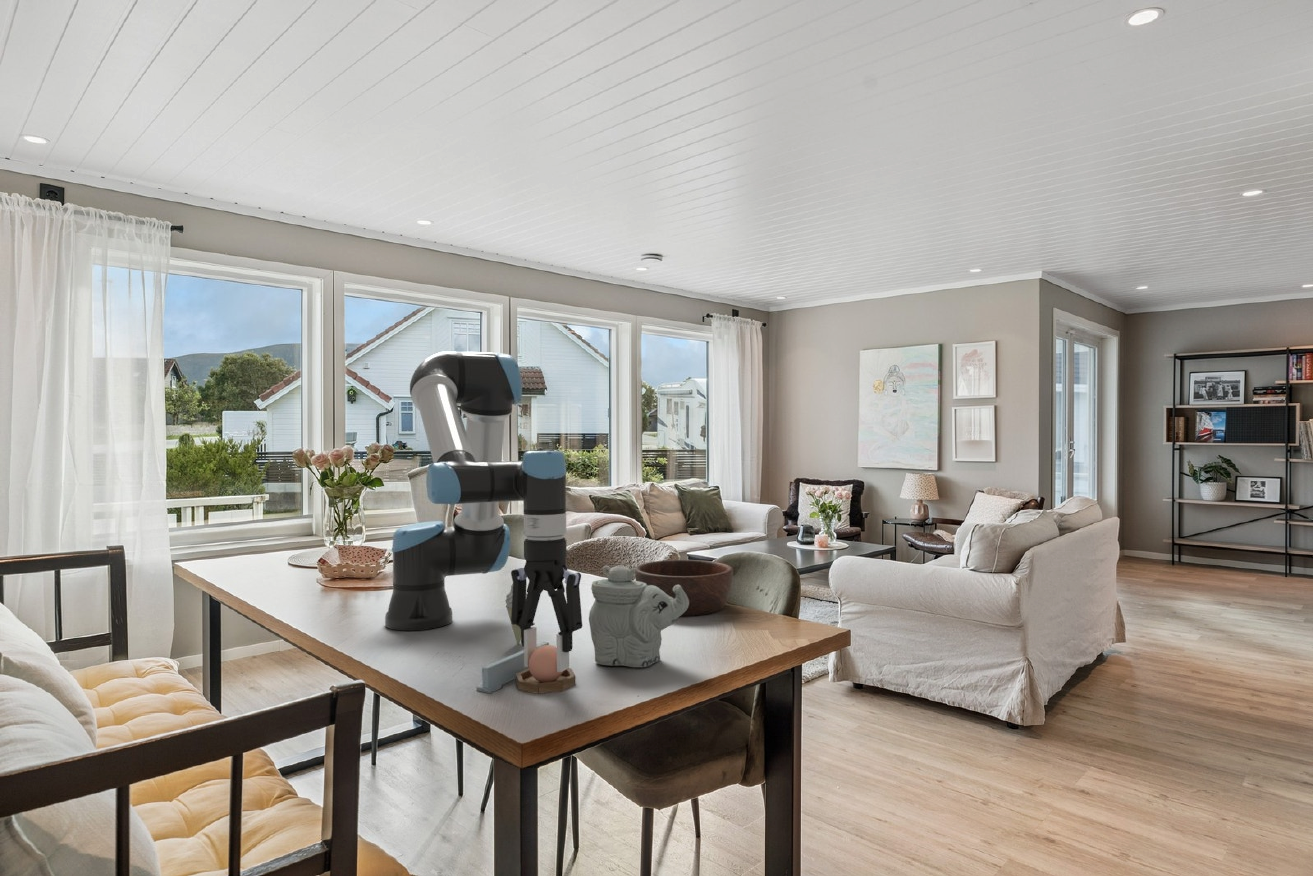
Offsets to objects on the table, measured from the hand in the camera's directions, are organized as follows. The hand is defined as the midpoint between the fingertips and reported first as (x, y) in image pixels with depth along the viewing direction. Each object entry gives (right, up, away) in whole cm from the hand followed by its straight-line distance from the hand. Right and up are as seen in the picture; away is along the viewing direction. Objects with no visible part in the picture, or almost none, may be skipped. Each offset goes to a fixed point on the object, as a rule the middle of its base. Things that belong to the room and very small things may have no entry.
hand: (546, 667), depth 135 cm
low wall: (-6, -3, +5) cm, 8 cm away
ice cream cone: (-10, -3, +26) cm, 28 cm away
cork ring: (0, -3, 0) cm, 3 cm away
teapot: (+16, -3, +12) cm, 20 cm away
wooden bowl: (+27, -3, +59) cm, 64 cm away
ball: (0, -3, 0) cm, 3 cm away
